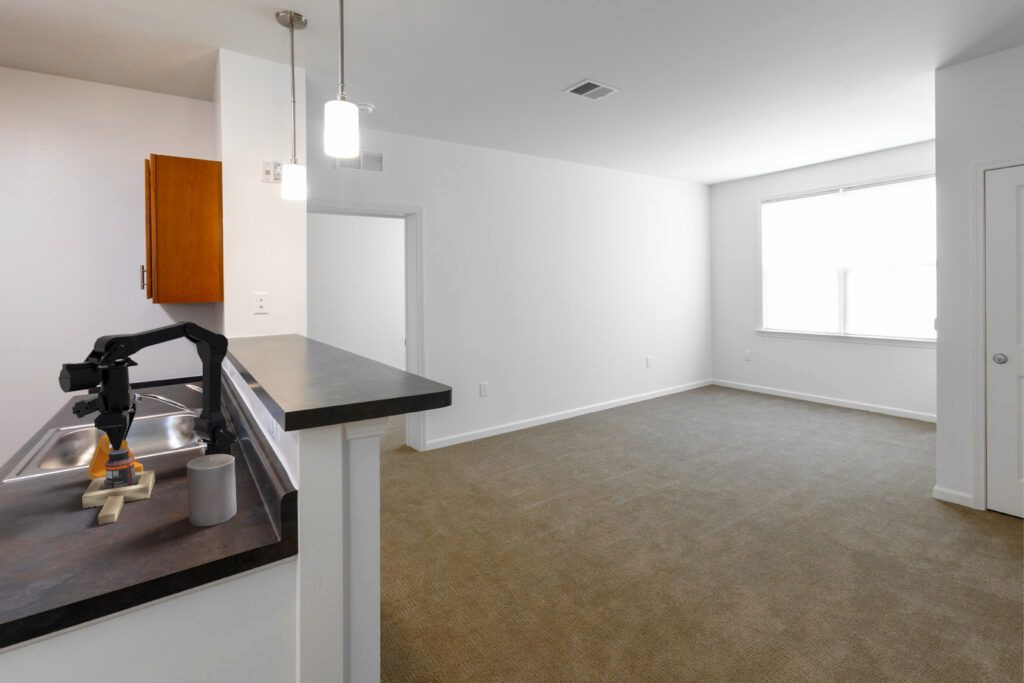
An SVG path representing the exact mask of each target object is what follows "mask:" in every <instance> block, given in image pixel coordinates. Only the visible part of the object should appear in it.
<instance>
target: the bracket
mask: <svg viewBox="0 0 1024 683" xmlns="http://www.w3.org/2000/svg"><path fill="white" fill-rule="evenodd" d="M110 445H111V443H110V440H109V438H108V436H107V434H106V433H105V434H103V435H102V436H101V437H100V438H99V439H98V441H97V444H96V446H95V450H94V452H93V455H92V458H91V461H90V464H89V465H88V468H87V474H86V475H87V478H88V479H89V480H90V481H91V482H92V481H93V479H94V478H100V477H106V473H105V463H106V462H107V461H108V460H109V459H110V458H109V452H111V451H114V450H113V447H112V446H111V447H110ZM120 449H127V450H128V453H129V454H128V456H130V457H132V458H133V460H134V468H135V473H136V472H143V471H144V465H143V464H142V463H140V462H138V461H137V459H135V457H134V455H133V453H132V452H131V450H130V449H129V447H128V440H127V439H126V440H123V441H122V444H121V447H120Z"/></svg>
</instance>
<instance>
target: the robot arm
mask: <svg viewBox="0 0 1024 683" xmlns="http://www.w3.org/2000/svg"><path fill="white" fill-rule="evenodd" d="M181 338H186V340H188V342H190V343H192V344H194V345H195V347H196V352H197V355H198V358H199V359H200V362H201V363H202V388H201V389H202V390H201V391H202V399H201V401H202V402H201V404H202V406H201V408H202V409H201V412H200V415H199V416H194V417H193V423H194V427H193V430H192V431H195V434H196V436H197V437H198V438H200V439H201V441H202V443H203V444H205V443H206V447H205V448H204V456H207V455H214V454H227V455H231V456H232V445H233V444H235V443H236V440H237V435H235V434H234V433H232V432H231V431H230V430H228V425H227V419H226V417H225V416H224V414H223V411H222V364H223V361H224V359H225V358H226V356H227V353H228V347H229V340H228V338H227V337H226V336H225V335H224V334H222V333H215V332H214V331H211V330H209V329H206V327H205V328H204V327H202V326H200V325H198V324H196V323H195V322H194V321H187V320H181V321H179V322H176V323H173V324H168V325H164V326H160V327H156V328H153V329H147V330H145V331H140V332H135V333H125V334H123V333H121V334H109V335H108V334H107V335H103V336H102V335H101V336H99V337H98V338H97V339H95V340H96V341H94V344H93V348H92V350H91V351H90V353H88V356H87V357H86V358H85V359H84V361H83V362H74V363H71V362H70V363H69V362H68V363H63V364H62V365H61V366H62V368H61V369H60V373H59V376H58V383H59V384H58V385H59V387H60V389H61V390H62V391H63V393H71V392H72V393H73V392H74V393H75V392H80V391H86V390H93V389H96V388H97V387H98V386H100V391H99V392H98V393H97V396H94V397H92V398H88V399H81V400H80V401H76V402H75V403H74V405H73V406H72V407H71V409H72V414H73V415H75V416H76V417H77V419H82V418H85V416H88V415H91V414H93V413H95V412H98V413H99V415H97V417H96V418H94V420H93V422H94V428H96V429H97V430H100V431H102V432H104V433H105V435H106V434H107V436H108V438H109V440H110V443H111V444H110V445H111V448H112V447H113V450H114V451H116V450H119V449H120V447H121V444H122V441H123V440H127V438H128V434H129V432H130V429H131V427H132V425H133V422H134V419H135V417H136V414H137V410H138V401H137V400H136V399H134V398H131V391H132V386H131V385H130V384H131V383H130V375H129V374H130V373H129V367H137V366H138V365H139V364H138V362H136V361H135V360H133V359H132V358H131V357H130V356H133V355H135V354H136V353H138V352H140V351H141V350H143V349H146V348H148V347H152V346H155V345H159V344H163V343H166V342H171V341H173V340H177V339H181Z"/></svg>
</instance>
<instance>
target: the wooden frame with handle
mask: <svg viewBox="0 0 1024 683" xmlns="http://www.w3.org/2000/svg"><path fill="white" fill-rule="evenodd" d="M135 480H136V485H134V486H127V487H121V488H114V489H107V484H106V477H100V478H94V479H93V481H92V480H91V482H90V484H89V486H87V488H86V489H85V492H84V493H83V494H82V496H81V497H82V498H81V500H82V509H89V507H90V508H95V507H94V506H96V507H101V506H102V509H101V510H100V512H99V514H98V516H97V517H98V521H97V522H98V525H99V526H100V525H106V523H107V524H113V523H116V522H117V520H118V517H119V515H120V513H121V510H122V509H123V507H124V504H125V503H126V501H127V502H132V501H139V500H145V498H146V499H150V496H151V494H152V491H153V488H154V484H155V482H156V475H155V469H151V470H145V471H144V470H143V472H136V473H135ZM121 508H122V509H121Z"/></svg>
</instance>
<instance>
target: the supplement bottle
mask: <svg viewBox="0 0 1024 683" xmlns="http://www.w3.org/2000/svg"><path fill="white" fill-rule="evenodd" d="M128 454H129V453H128V450H127V449H119V450H116V451H111V452H109V458H110V459H109V460H108V461H107V462H106V463H105V473H106V484H107V489H114V488H121V487H127V486H134V485H136V480H135V468H134V460H133V458H132V457H130V456H128Z"/></svg>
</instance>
